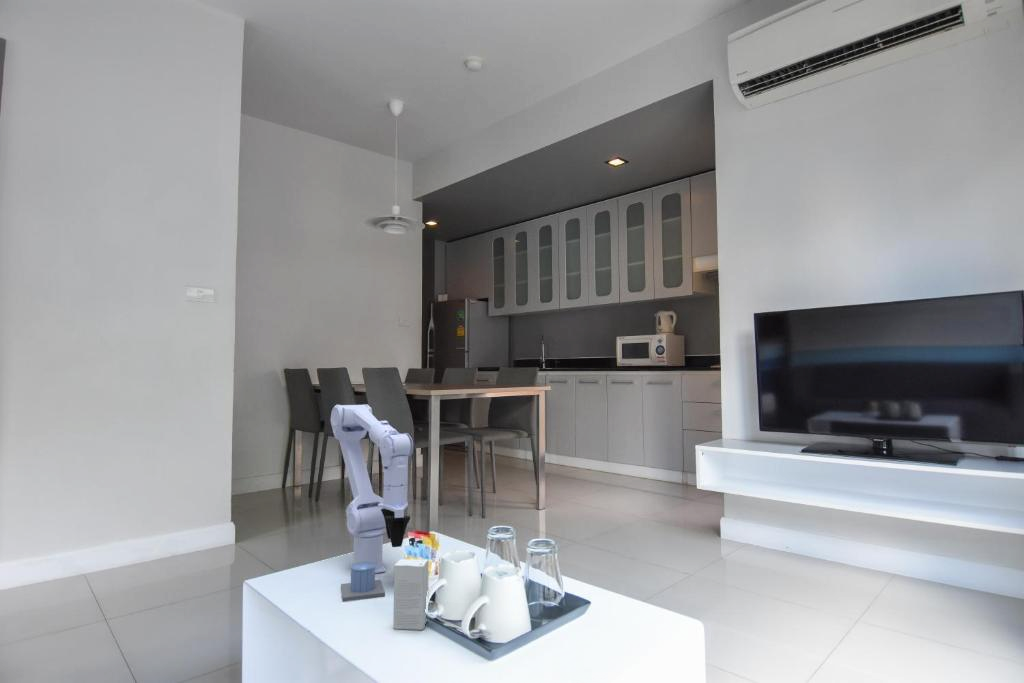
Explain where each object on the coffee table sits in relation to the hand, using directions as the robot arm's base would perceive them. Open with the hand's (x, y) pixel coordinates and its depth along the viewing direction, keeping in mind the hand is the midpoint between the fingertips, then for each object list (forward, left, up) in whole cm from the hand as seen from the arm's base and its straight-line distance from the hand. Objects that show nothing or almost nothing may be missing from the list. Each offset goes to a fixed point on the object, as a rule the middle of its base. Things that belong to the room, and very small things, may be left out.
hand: (394, 542), depth 130 cm
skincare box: (+25, 0, -10) cm, 27 cm away
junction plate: (+4, -8, -9) cm, 13 cm away
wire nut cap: (+4, -8, -9) cm, 12 cm away
